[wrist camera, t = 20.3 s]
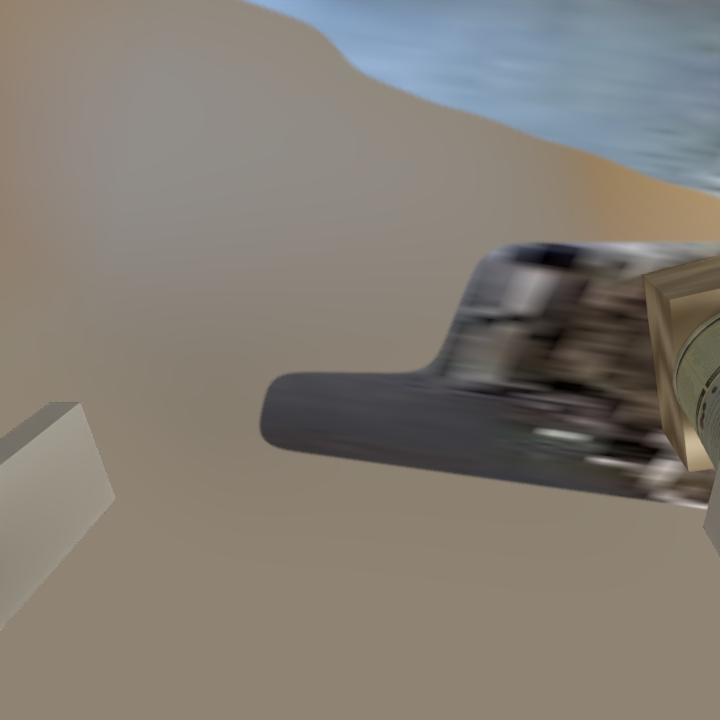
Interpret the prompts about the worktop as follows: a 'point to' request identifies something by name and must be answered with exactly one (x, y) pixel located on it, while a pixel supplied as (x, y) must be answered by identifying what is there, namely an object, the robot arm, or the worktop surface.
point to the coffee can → (701, 384)
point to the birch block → (679, 342)
